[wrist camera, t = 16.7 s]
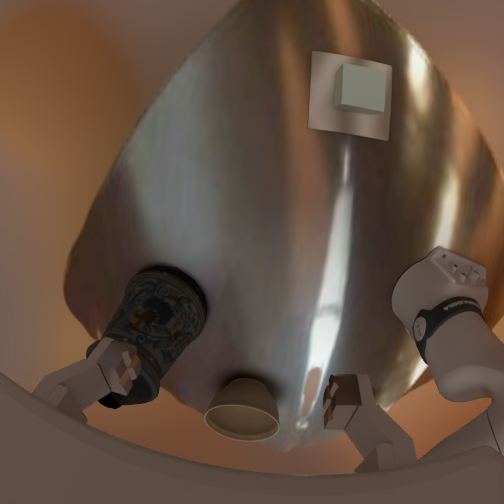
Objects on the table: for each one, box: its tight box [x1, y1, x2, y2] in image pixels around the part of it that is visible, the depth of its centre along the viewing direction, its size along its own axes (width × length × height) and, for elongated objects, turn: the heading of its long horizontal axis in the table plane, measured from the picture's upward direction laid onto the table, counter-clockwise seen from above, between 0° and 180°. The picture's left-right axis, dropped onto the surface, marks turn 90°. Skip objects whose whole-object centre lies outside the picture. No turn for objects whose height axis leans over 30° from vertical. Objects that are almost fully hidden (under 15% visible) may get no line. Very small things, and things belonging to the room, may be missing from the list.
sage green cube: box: [334, 63, 386, 115], centre depth 29 cm, size 5×5×6 cm
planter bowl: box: [204, 378, 279, 441], centre depth 56 cm, size 16×16×11 cm
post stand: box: [307, 51, 392, 141], centre depth 30 cm, size 12×12×7 cm
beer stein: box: [86, 266, 207, 409], centre depth 42 cm, size 16×19×25 cm
